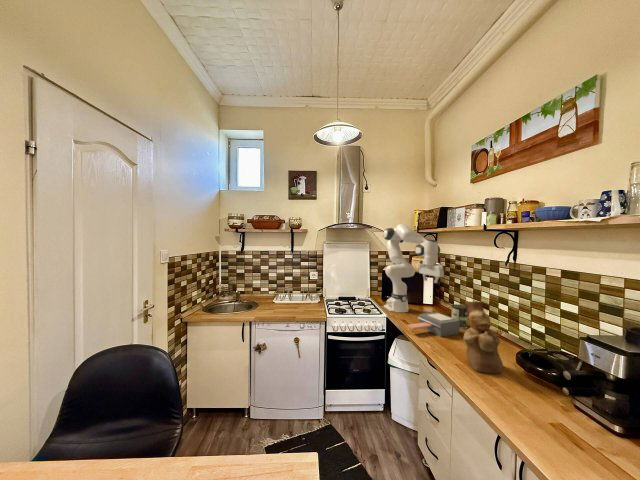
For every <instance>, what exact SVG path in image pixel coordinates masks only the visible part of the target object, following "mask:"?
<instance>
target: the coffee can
mask: <svg viewBox="0 0 640 480" xmlns="http://www.w3.org/2000/svg"><path fill="white" fill-rule="evenodd" d="M450 317H451V318H454V319H456V320H459V321H460V329H461V330H463V329H469V328H468V327H469V326H468V322H469V318H468V314H467V310H466V306H465V304H463V305H462V304H457V303H456V304H452V305H451V316H450Z"/></svg>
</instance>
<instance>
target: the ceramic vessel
mask: <svg viewBox="0 0 640 480" xmlns="http://www.w3.org/2000/svg"><path fill="white" fill-rule="evenodd" d="M464 306H466V310H467V314H468V322H469V325H470V327H469V328H466V330H465V332H464V334H463V341H464V343H465V347H466V352H465V353H466V360H467V362H468V364H469V366H470V367H471V368H472V369H473V370H475V371H476V372H479V373H485V374H501V373H502V372H503V369H504V364H503V361H502V359H501V356H500V354H499V351H498V347H499V345H500V343H501V341H500V338H499V337H498V335H497V333H495V332H494V331H493V330H492V329H490V328H491V325H492V324H491V319H490V316H489V315H488V314H487V312H486V311H485V310H484V306H483V302H482V301H465V302H464Z"/></svg>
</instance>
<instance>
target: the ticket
mask: <svg viewBox="0 0 640 480" xmlns="http://www.w3.org/2000/svg"><path fill="white" fill-rule="evenodd" d="M406 326H407V327H408V328H409V329H411V330H420V329H423V328H428V327H433V325H432V324H430V323H427V322H424V323H419V322H418V323H412V324H411V323H410V324H407V325H406Z"/></svg>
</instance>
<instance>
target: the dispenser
mask: <svg viewBox="0 0 640 480" xmlns="http://www.w3.org/2000/svg"><path fill="white" fill-rule="evenodd" d="M451 317H452V316H448V315H447V314H443V313H440V312H439V311H435V312H428V313H420V314H418V317H417V319H418V323H424V322H427V323H430V324H432V325H433V327H428V328H422V329H423V330H425V331H428V332H430V333H432V334H433V335H436V336H438V337H440V338H442V337H448V336H453V335H454V334H455V335H460V333H461V332H460V331H461V330H460V329H461V328H460V321H459V320H456V319H454V318H451Z"/></svg>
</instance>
